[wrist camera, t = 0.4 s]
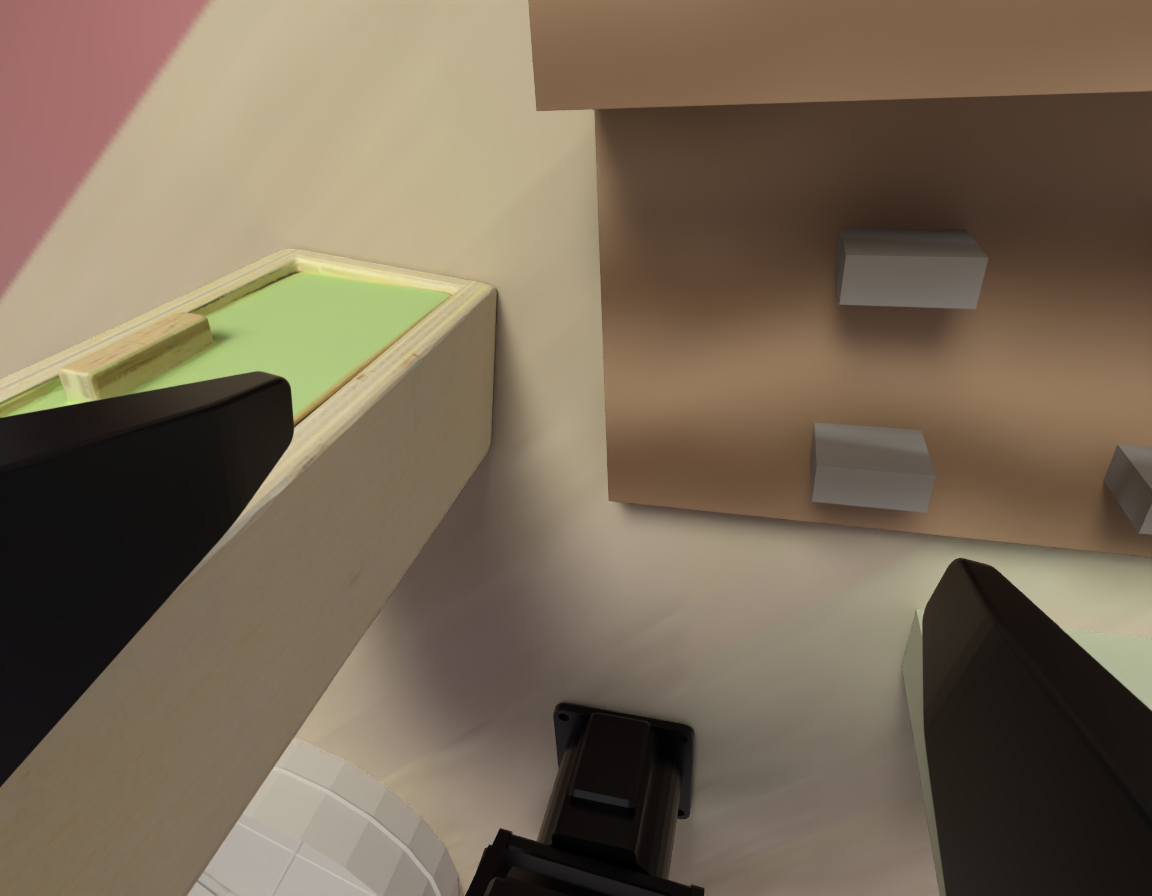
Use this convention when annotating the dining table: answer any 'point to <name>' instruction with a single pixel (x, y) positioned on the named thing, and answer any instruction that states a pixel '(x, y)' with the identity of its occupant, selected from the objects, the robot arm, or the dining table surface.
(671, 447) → the cabinet base
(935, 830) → the door panel
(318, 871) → the dish
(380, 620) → the dining table surface
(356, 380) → the toy refrigerator
